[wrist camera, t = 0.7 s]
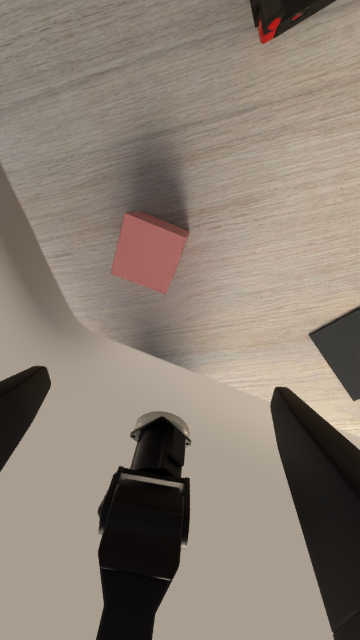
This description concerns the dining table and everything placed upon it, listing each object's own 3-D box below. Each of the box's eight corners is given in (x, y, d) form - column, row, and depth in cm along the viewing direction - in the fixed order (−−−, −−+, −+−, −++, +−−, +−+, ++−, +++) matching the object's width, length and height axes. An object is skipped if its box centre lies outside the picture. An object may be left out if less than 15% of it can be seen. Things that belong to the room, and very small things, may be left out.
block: (172, 278, 24) (165, 294, 20) (127, 261, 24) (110, 273, 19) (189, 231, 22) (186, 237, 18) (140, 211, 22) (124, 212, 17)
